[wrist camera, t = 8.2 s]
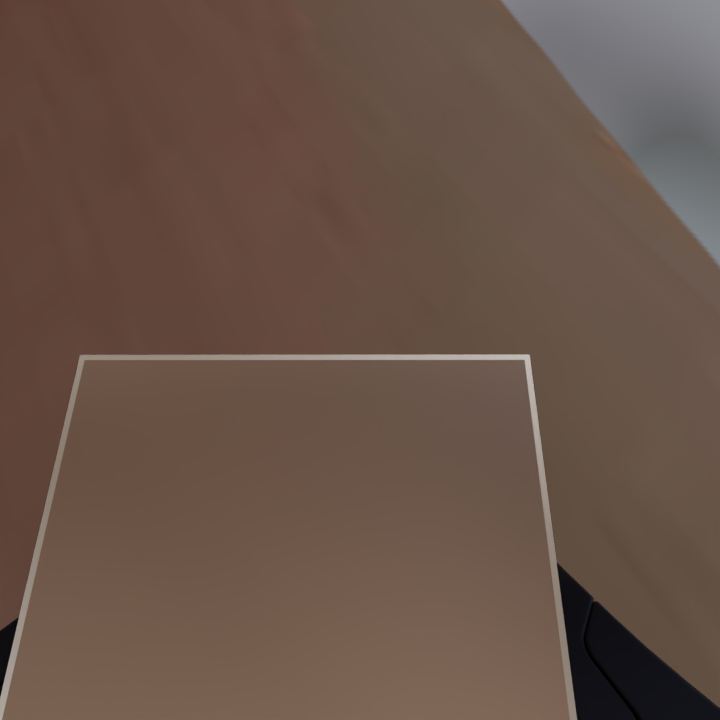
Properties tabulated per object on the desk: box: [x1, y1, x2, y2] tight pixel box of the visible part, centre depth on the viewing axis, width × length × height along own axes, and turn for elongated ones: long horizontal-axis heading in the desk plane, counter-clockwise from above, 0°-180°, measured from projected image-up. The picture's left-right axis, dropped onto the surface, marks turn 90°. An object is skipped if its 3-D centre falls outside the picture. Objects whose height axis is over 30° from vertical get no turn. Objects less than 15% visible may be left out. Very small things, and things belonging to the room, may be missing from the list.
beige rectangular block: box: [0, 355, 577, 720], centre depth 9 cm, size 4×4×12 cm
